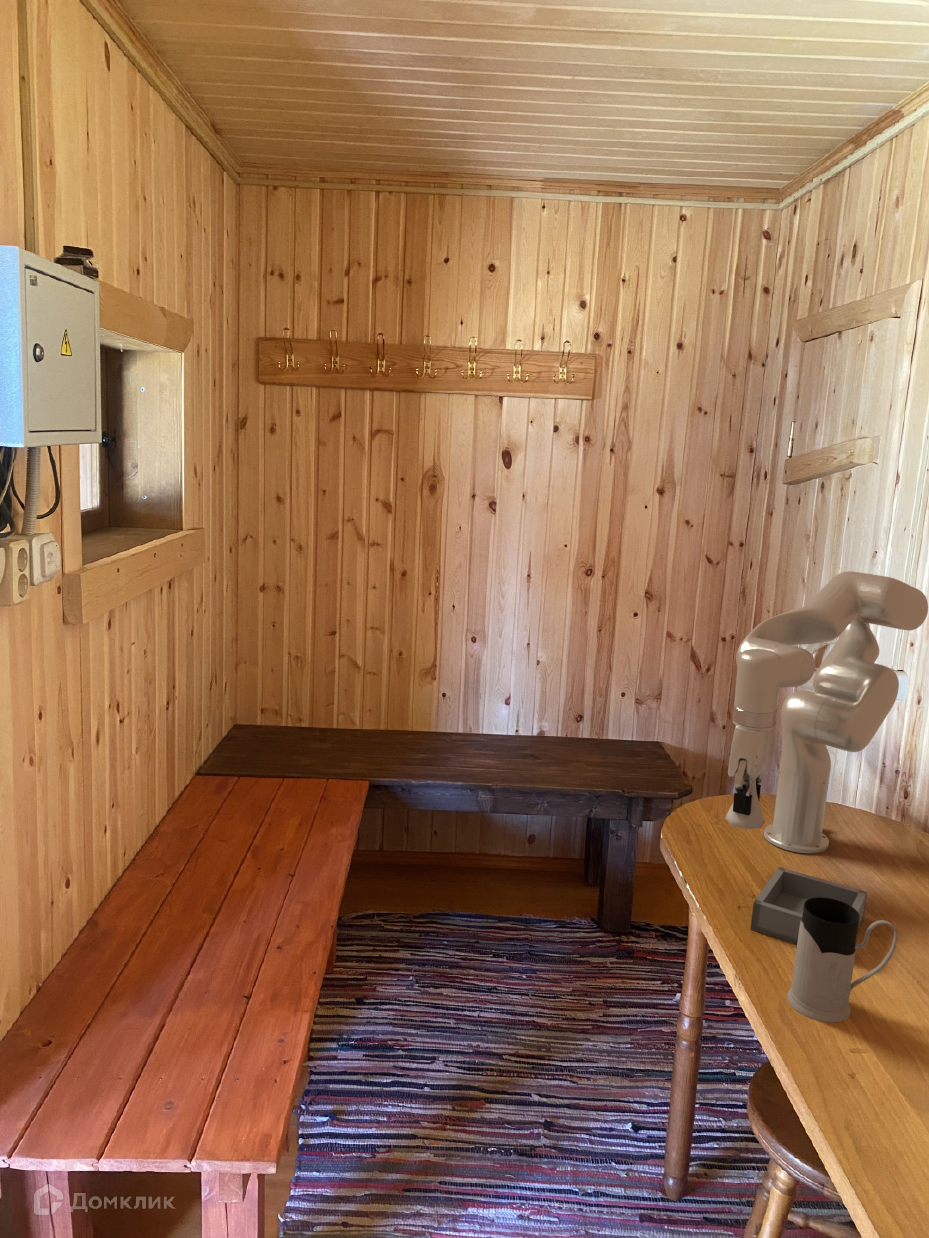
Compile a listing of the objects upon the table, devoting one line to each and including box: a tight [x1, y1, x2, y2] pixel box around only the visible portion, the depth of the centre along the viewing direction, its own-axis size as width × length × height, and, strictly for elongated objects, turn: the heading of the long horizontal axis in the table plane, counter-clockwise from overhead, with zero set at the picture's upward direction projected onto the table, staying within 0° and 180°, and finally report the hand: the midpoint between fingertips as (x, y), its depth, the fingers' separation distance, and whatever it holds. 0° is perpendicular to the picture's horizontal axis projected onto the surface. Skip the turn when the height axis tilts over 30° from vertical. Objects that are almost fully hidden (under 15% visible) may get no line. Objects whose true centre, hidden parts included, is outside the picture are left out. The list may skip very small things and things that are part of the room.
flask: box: [724, 775, 765, 830], centre depth 172 cm, size 7×7×10 cm
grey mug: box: [786, 897, 899, 1023], centre depth 133 cm, size 9×14×15 cm, turn 88°
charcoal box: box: [749, 866, 868, 946], centre depth 156 cm, size 16×15×5 cm
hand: (746, 806), depth 173 cm, fingers closed on flask, 4 cm apart
